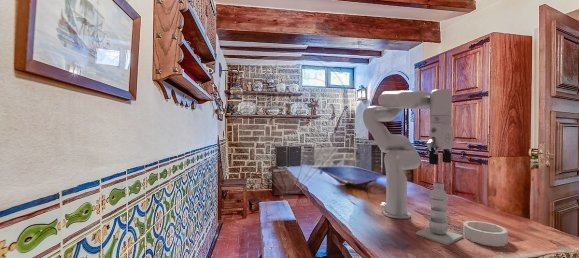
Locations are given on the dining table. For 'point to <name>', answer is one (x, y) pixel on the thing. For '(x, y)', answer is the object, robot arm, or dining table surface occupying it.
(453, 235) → the mat
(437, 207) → the plastic bottle
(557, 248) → the dining table surface
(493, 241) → the bowl
